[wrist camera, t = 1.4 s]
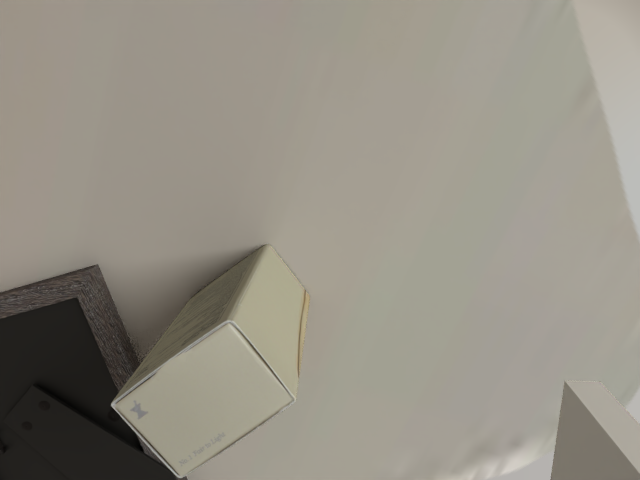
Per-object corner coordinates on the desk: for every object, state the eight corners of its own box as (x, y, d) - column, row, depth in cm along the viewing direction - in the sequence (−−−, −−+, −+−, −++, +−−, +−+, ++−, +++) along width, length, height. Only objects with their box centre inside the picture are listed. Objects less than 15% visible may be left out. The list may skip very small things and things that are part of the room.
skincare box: (233, 351, 34) (176, 487, 22) (186, 296, 33) (102, 407, 21) (314, 294, 32) (301, 406, 21) (269, 236, 32) (228, 318, 20)
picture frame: (202, 504, 37) (101, 261, 33) (194, 526, 35) (86, 271, 31) (26, 545, 39) (-92, 317, 34) (10, 569, 37) (-118, 330, 32)
